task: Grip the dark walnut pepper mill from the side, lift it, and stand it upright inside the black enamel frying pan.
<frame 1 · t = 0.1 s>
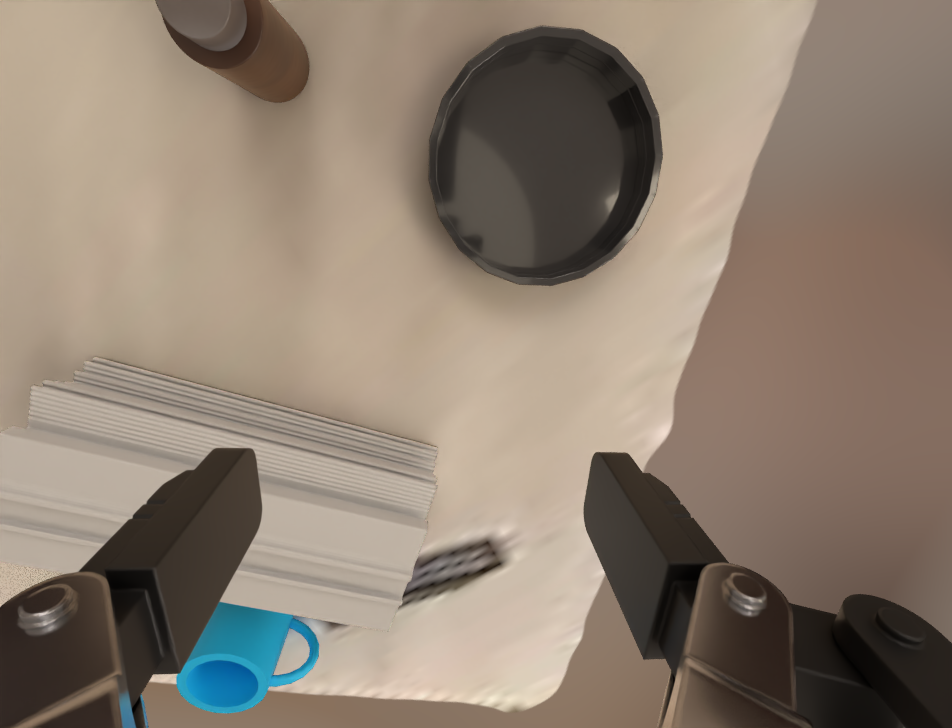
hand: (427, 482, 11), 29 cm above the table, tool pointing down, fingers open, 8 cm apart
pan: (537, 170, 36), on the table
pepper mill: (272, 61, 32), on the table
mug: (274, 610, 50), on the table
aluminum extrusion profile: (265, 465, 43), on the table
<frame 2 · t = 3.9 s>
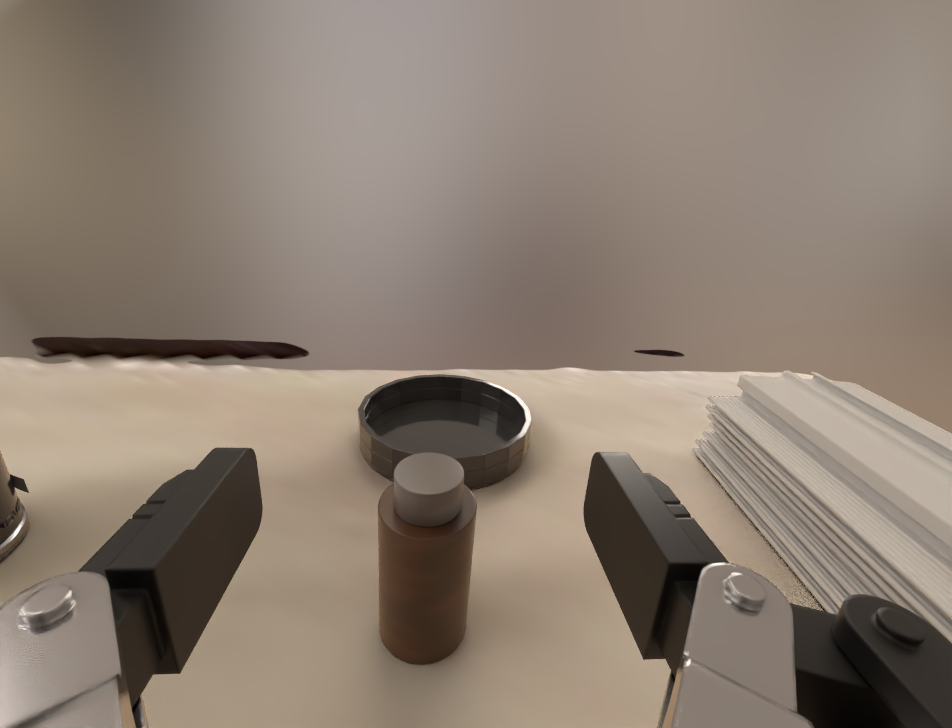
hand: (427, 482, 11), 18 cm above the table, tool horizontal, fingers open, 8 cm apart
pan: (444, 438, 46), on the table
pepper mill: (423, 621, 27), on the table
aluminum extrusion profile: (876, 573, 34), on the table
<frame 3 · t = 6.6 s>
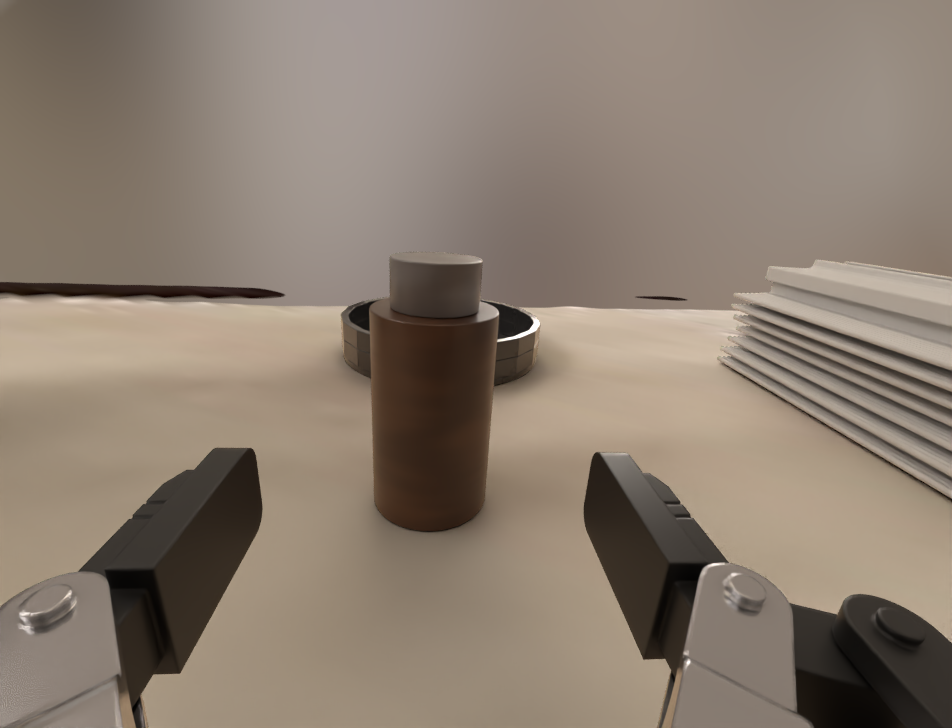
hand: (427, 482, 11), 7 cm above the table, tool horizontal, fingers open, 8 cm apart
pan: (441, 351, 41), on the table
pepper mill: (430, 493, 21), on the table
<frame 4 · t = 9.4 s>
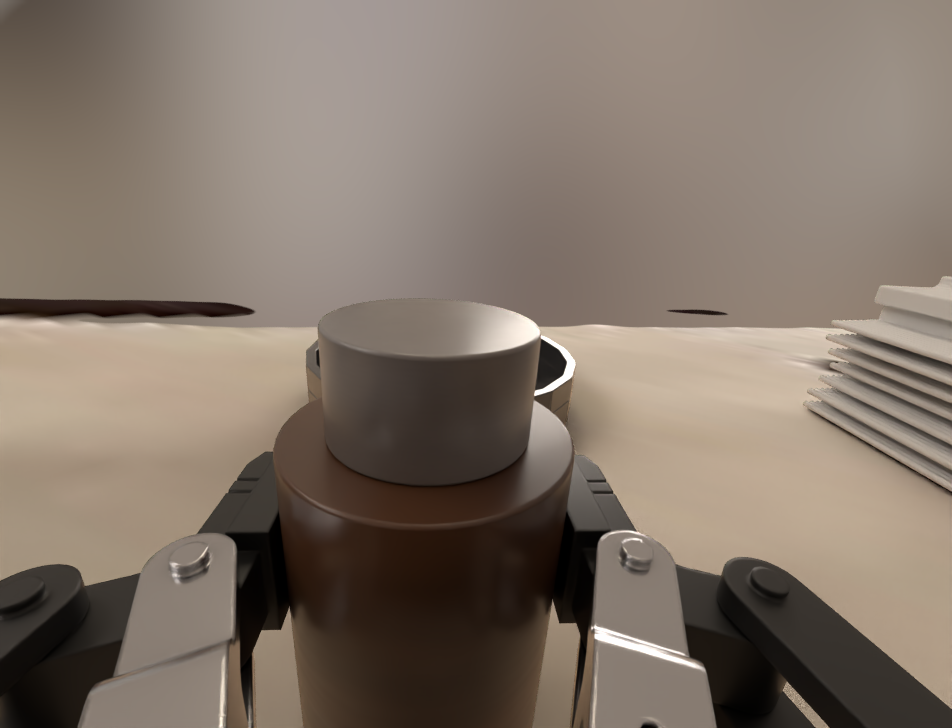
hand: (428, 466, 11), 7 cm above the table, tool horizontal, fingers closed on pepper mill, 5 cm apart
pan: (442, 397, 31), on the table
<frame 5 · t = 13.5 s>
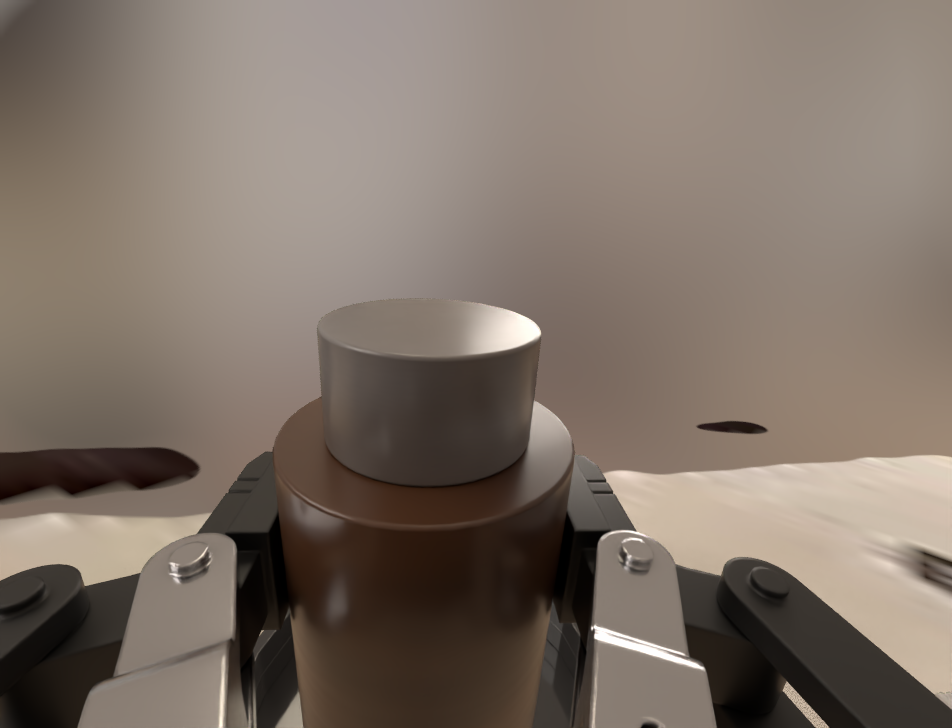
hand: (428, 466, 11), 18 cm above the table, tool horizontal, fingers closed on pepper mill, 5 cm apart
when the fingers open (7 cm above the table, at t = 17.8 s): pepper mill stays where it is, resting on pan.
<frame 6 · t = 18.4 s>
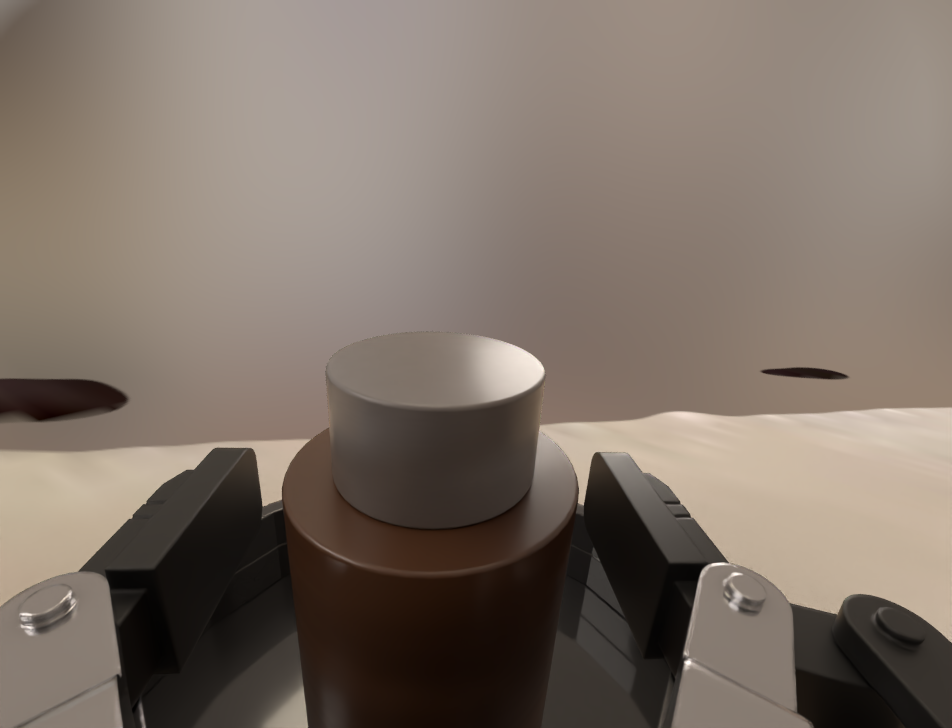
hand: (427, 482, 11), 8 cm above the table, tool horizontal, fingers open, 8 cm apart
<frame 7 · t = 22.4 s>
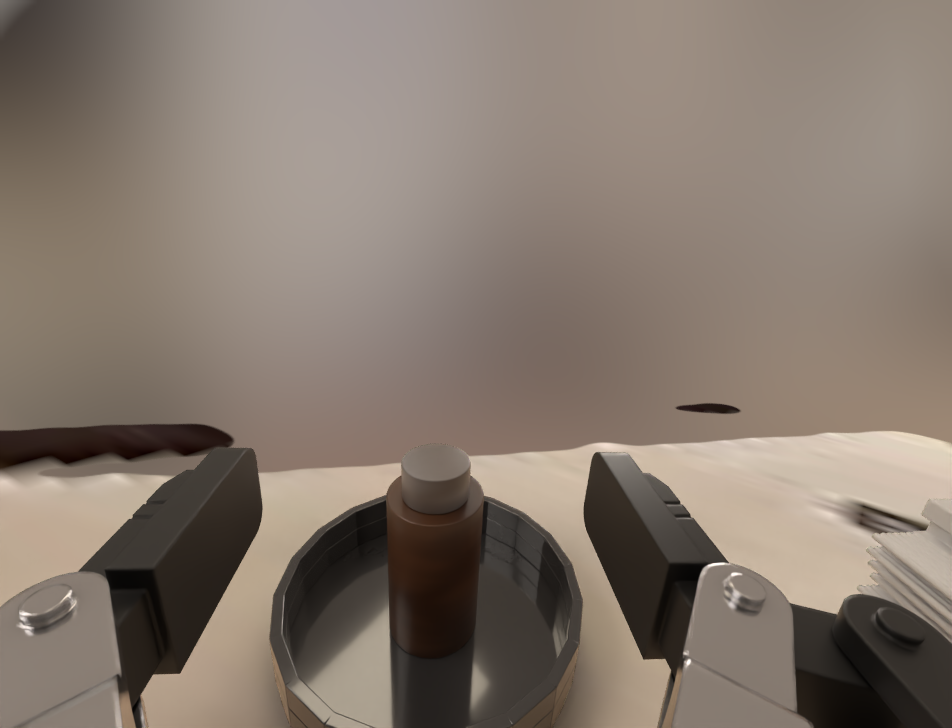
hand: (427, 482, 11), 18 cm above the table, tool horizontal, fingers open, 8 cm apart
pan: (431, 622, 27), on the table
pepper mill: (433, 617, 27), resting on pan
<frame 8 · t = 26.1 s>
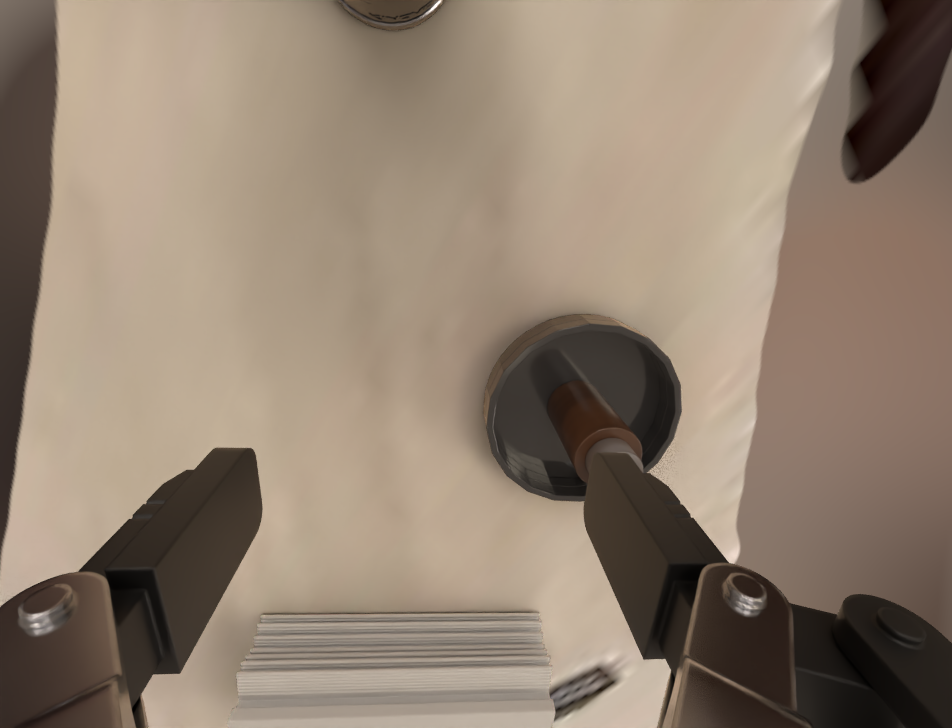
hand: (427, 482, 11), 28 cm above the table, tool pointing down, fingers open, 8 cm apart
pan: (573, 402, 42), on the table
pepper mill: (574, 405, 41), resting on pan
aluminum extrusion profile: (403, 655, 52), on the table
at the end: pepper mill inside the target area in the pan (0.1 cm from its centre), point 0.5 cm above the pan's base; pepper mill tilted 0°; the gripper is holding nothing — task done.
